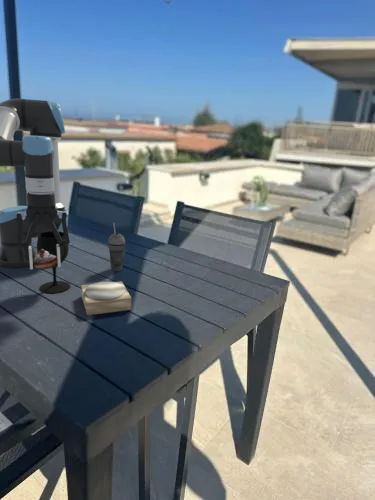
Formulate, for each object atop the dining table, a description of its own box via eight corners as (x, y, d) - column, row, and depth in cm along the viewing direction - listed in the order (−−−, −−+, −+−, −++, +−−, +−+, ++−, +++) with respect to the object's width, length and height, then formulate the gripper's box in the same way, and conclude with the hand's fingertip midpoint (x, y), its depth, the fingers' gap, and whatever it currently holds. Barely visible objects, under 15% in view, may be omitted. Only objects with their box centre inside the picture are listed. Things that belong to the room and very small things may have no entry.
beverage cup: (121, 273, 144) (121, 226, 138) (104, 270, 145) (104, 224, 139) (127, 267, 151) (128, 222, 145) (111, 265, 152) (111, 220, 146)
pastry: (32, 261, 112) (31, 246, 110) (57, 259, 114) (56, 245, 113) (32, 270, 105) (31, 255, 103) (59, 268, 107) (58, 253, 106)
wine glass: (41, 295, 120) (37, 239, 114) (38, 284, 129) (34, 231, 123) (72, 291, 125) (70, 237, 119) (67, 280, 134) (65, 229, 128)
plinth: (81, 296, 121) (81, 283, 120) (121, 292, 127) (121, 279, 125) (87, 315, 109) (86, 300, 108) (131, 309, 115) (131, 295, 113)
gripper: (0, 194, 93) (8, 274, 101) (78, 194, 101) (80, 268, 108) (2, 189, 100) (9, 264, 107) (75, 190, 108) (78, 260, 115)
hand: (45, 266), depth 108 cm, fingers closed on pastry, 7 cm apart
